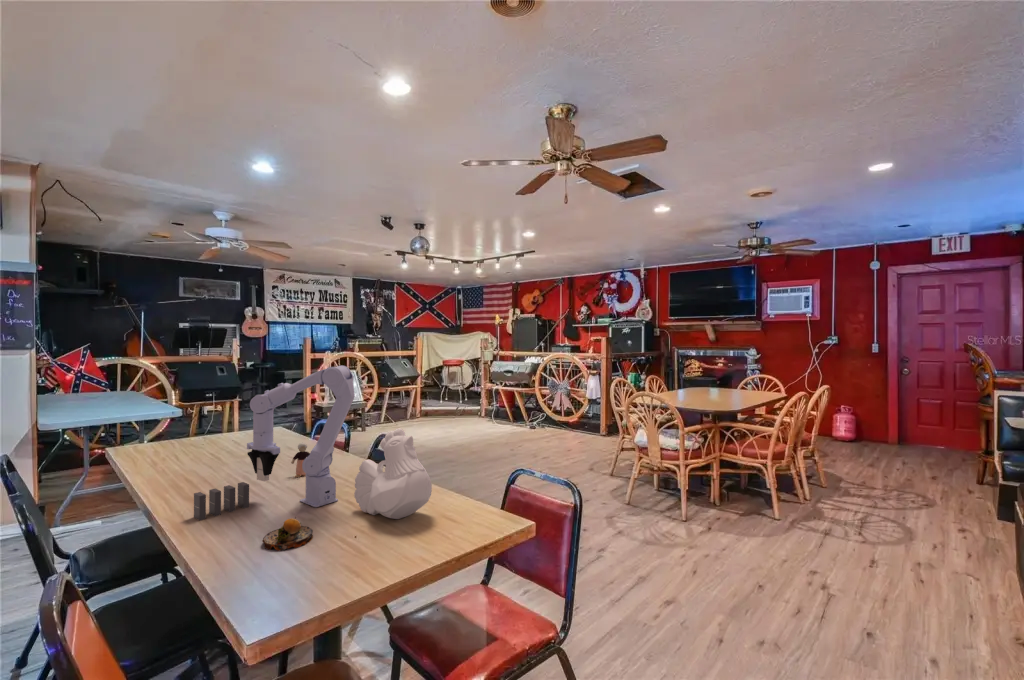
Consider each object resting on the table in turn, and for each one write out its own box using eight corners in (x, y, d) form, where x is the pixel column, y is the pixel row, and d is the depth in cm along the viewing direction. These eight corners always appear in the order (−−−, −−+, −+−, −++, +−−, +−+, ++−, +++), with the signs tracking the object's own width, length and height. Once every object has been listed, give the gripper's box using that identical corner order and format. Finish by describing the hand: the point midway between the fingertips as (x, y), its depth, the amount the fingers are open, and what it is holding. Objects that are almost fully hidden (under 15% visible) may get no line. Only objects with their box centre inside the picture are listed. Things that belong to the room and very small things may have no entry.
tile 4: (205, 518, 135) (205, 494, 135) (199, 520, 133) (199, 496, 133) (200, 515, 137) (200, 491, 137) (193, 517, 136) (193, 493, 136)
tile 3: (220, 514, 138) (221, 491, 138) (214, 516, 137) (215, 492, 137) (215, 511, 140) (215, 488, 140) (209, 513, 139) (209, 489, 139)
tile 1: (249, 506, 144) (249, 484, 144) (243, 508, 143) (243, 485, 143) (243, 504, 147) (243, 481, 147) (237, 505, 145) (237, 483, 145)
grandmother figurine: (295, 479, 173) (295, 444, 173) (290, 477, 176) (290, 443, 176) (314, 474, 179) (314, 441, 179) (309, 472, 182) (309, 440, 182)
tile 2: (235, 510, 141) (235, 487, 141) (229, 512, 140) (229, 489, 140) (229, 507, 144) (229, 485, 144) (223, 509, 142) (223, 486, 142)
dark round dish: (300, 528, 129) (300, 501, 129) (321, 540, 122) (321, 511, 122) (254, 542, 120) (254, 513, 120) (274, 556, 112) (274, 525, 112)
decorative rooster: (448, 496, 136) (423, 422, 148) (405, 500, 123) (382, 419, 136) (397, 533, 146) (378, 460, 158) (353, 540, 134) (336, 461, 146)
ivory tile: (269, 480, 150) (269, 458, 150) (264, 481, 148) (264, 459, 148) (261, 478, 151) (261, 456, 151) (256, 479, 150) (256, 457, 150)
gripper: (289, 431, 150) (288, 473, 150) (261, 427, 157) (261, 467, 157) (268, 435, 144) (268, 479, 144) (240, 430, 151) (240, 472, 151)
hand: (263, 473), depth 150 cm, fingers closed on ivory tile, 4 cm apart
